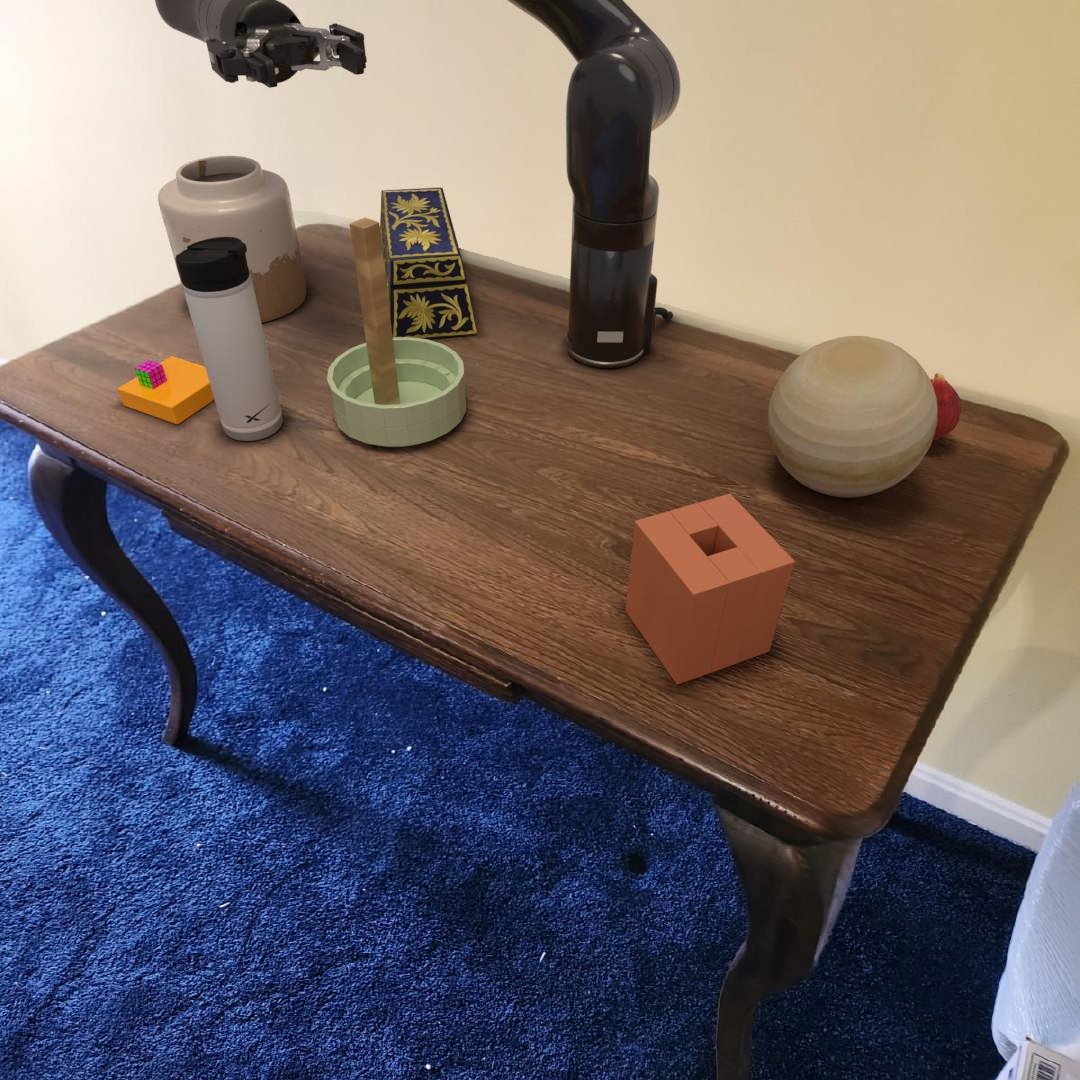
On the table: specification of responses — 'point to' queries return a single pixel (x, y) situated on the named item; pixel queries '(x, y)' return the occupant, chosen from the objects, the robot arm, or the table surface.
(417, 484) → the table surface
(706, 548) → the stick holder
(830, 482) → the decorative ball
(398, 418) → the bowl
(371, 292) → the long square wooden peg
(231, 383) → the travel mug
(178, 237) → the vase
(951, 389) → the onion
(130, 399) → the orange flat block
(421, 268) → the decorative box
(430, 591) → the table surface
